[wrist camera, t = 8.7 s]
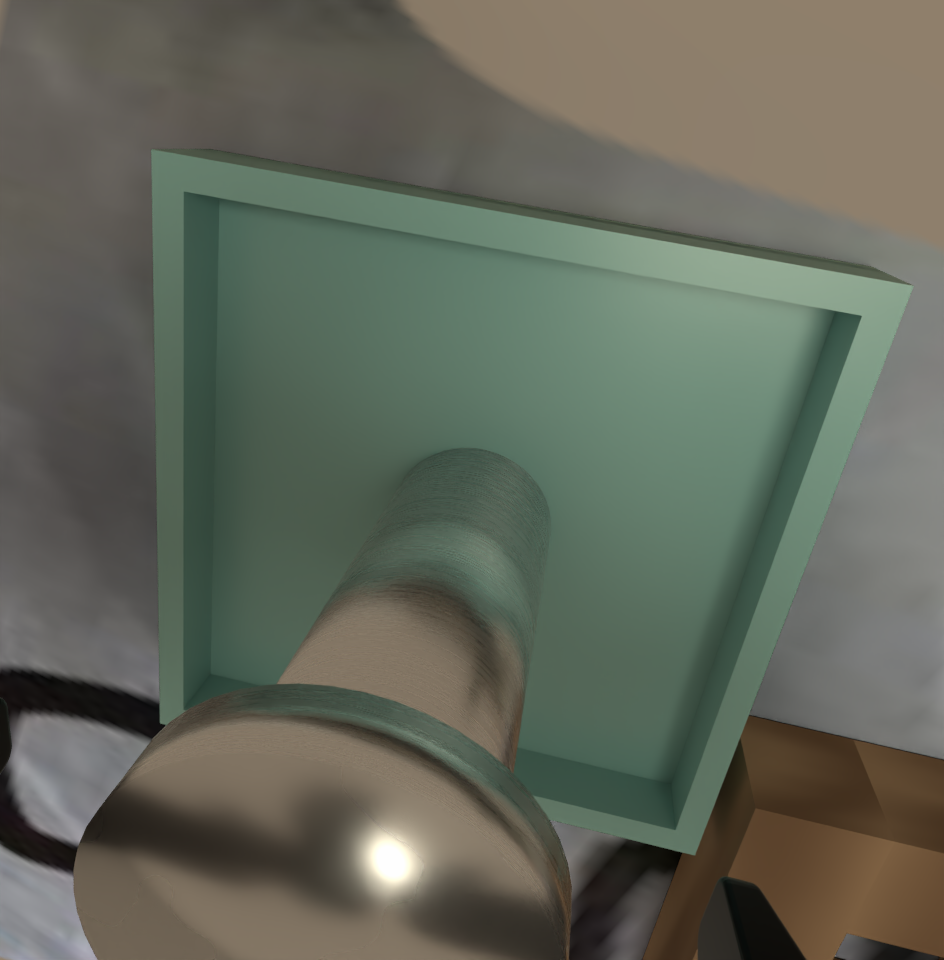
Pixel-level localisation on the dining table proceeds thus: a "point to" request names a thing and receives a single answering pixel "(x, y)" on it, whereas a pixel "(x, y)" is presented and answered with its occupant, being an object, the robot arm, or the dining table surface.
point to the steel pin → (358, 765)
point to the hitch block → (819, 844)
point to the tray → (503, 446)
